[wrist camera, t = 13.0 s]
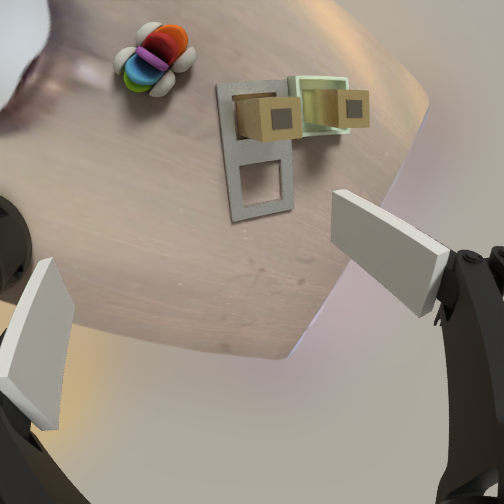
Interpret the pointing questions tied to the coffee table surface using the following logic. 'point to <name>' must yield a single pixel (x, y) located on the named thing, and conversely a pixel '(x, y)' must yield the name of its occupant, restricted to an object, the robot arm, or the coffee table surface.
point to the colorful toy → (155, 58)
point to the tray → (316, 82)
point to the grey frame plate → (253, 151)
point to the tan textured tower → (270, 118)
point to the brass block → (336, 107)
